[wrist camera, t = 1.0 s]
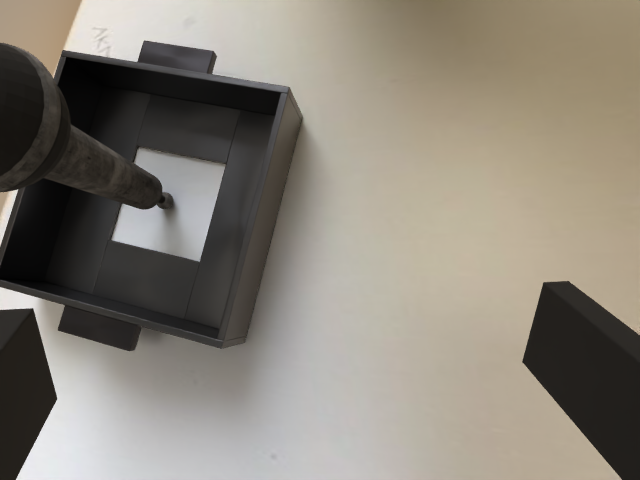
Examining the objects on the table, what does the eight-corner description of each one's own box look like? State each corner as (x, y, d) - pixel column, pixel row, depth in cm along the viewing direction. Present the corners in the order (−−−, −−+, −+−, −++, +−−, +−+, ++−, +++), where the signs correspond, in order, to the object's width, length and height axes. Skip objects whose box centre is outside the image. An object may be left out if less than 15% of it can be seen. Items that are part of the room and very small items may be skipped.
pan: (108, 61, 39) (69, 27, 34) (308, 94, 36) (296, 62, 31) (32, 308, 37) (-20, 308, 32) (239, 366, 33) (214, 376, 29)
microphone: (113, 195, 37) (-196, 72, 17) (180, 144, 37) (-59, -39, 17) (156, 262, 36) (-128, 210, 16) (225, 210, 35) (22, 92, 16)
